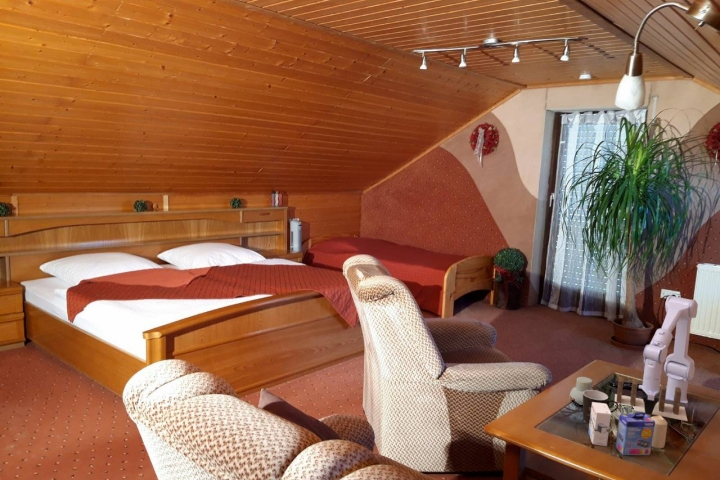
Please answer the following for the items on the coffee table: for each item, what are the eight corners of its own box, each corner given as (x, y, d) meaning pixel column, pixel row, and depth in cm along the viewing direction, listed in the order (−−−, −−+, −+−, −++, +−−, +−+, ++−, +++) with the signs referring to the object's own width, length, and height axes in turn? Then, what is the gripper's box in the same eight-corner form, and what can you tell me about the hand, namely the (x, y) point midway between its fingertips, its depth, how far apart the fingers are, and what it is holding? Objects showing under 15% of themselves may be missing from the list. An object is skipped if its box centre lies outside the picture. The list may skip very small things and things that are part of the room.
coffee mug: (576, 420, 212) (579, 394, 211) (585, 412, 219) (588, 387, 217) (608, 431, 205) (611, 405, 203) (617, 423, 211) (620, 397, 209)
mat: (614, 394, 236) (615, 393, 236) (684, 407, 225) (684, 407, 225) (614, 407, 224) (614, 406, 224) (687, 421, 214) (687, 420, 214)
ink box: (587, 432, 203) (591, 401, 201) (603, 434, 202) (606, 403, 200) (592, 444, 195) (595, 412, 193) (608, 446, 194) (611, 414, 192)
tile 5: (616, 402, 227) (618, 381, 226) (616, 398, 232) (619, 376, 230) (620, 403, 227) (623, 382, 225) (621, 398, 231) (623, 377, 230)
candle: (649, 438, 200) (653, 411, 199) (666, 444, 197) (670, 417, 195) (643, 443, 197) (647, 416, 195) (661, 450, 193) (664, 422, 191)
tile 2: (658, 411, 221) (661, 389, 220) (658, 406, 226) (661, 384, 224) (663, 412, 220) (666, 389, 219) (662, 406, 225) (665, 385, 223)
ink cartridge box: (623, 456, 188) (627, 414, 186) (614, 447, 194) (618, 407, 191) (651, 455, 189) (657, 414, 187) (642, 446, 194) (647, 406, 192)
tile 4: (630, 405, 225) (632, 383, 224) (630, 400, 230) (632, 379, 228) (634, 406, 225) (637, 384, 223) (634, 401, 229) (637, 380, 228)
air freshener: (575, 396, 233) (577, 372, 232) (596, 401, 229) (599, 377, 227) (567, 405, 225) (569, 381, 223) (589, 411, 220) (592, 386, 218)
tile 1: (673, 414, 219) (676, 391, 218) (672, 408, 224) (675, 386, 222) (678, 414, 218) (681, 392, 217) (677, 409, 223) (680, 387, 221)
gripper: (639, 368, 222) (636, 401, 224) (640, 381, 209) (636, 416, 211) (660, 371, 219) (656, 405, 221) (662, 385, 206) (657, 420, 208)
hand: (648, 411), depth 216 cm, fingers closed on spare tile, 5 cm apart
